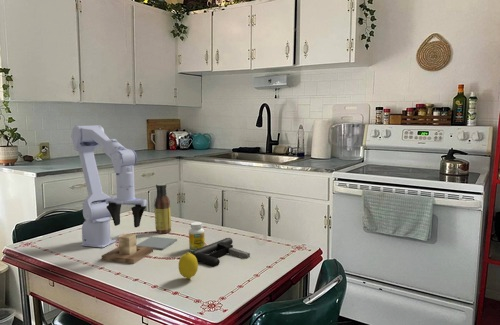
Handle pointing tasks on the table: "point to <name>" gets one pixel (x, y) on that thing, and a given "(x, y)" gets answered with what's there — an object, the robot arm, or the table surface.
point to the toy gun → (221, 248)
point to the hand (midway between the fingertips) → (127, 225)
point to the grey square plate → (157, 242)
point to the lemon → (188, 265)
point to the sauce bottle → (162, 210)
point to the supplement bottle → (196, 236)
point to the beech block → (127, 244)
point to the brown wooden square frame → (132, 259)
